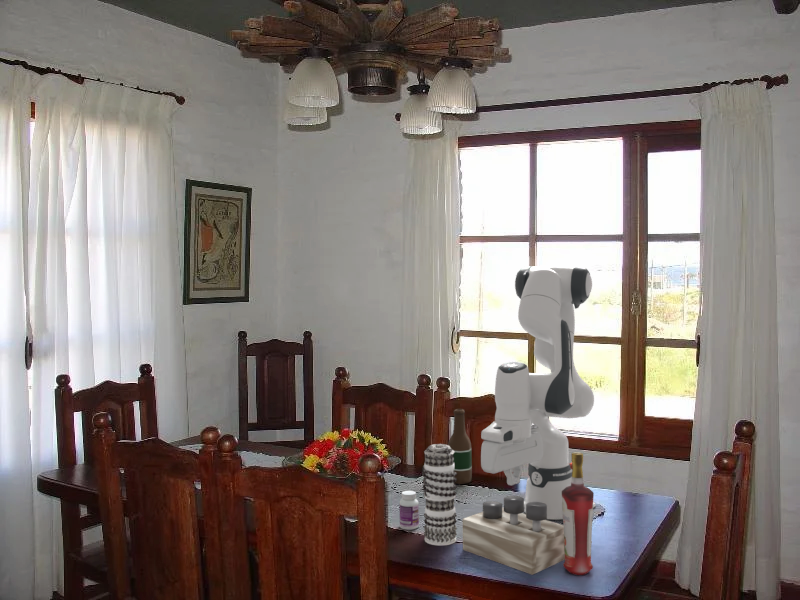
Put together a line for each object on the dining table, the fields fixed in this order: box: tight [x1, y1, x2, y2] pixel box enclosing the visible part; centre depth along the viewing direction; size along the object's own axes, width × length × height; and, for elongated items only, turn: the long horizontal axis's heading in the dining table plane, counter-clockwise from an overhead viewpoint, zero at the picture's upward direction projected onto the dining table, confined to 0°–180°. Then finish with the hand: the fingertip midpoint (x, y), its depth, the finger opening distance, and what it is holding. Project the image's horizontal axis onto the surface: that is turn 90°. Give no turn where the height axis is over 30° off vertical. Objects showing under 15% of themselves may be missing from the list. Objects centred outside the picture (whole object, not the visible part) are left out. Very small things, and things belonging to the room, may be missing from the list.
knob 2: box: [503, 495, 525, 525], centre depth 192 cm, size 5×5×8 cm
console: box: [461, 506, 565, 576], centre depth 192 cm, size 14×22×8 cm, turn 42°
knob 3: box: [525, 502, 548, 532], centre depth 187 cm, size 5×5×8 cm
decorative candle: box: [421, 443, 458, 547], centre depth 203 cm, size 9×9×25 cm
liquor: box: [562, 451, 595, 576], centre depth 181 cm, size 7×7×28 cm
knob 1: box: [482, 500, 503, 519], centre depth 197 cm, size 5×5×8 cm
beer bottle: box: [447, 408, 473, 485], centre depth 256 cm, size 8×8×24 cm
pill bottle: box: [398, 490, 420, 531], centre depth 213 cm, size 5×5×10 cm
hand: (513, 484), depth 191 cm, fingers closed
